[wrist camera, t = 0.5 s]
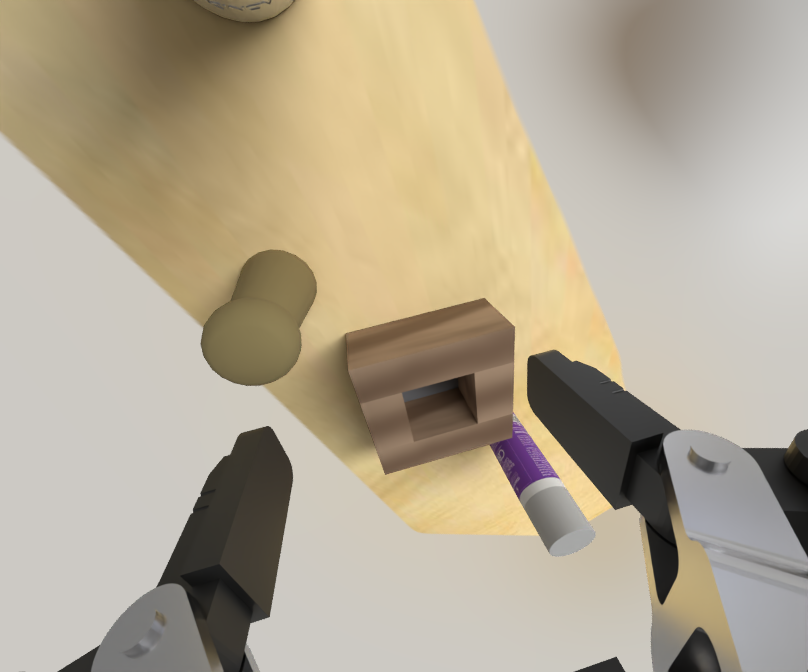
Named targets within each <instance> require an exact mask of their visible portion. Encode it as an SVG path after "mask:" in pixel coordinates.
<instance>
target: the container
mask: <svg viewBox="0 0 808 672" xmlns="http://www.w3.org/2000/svg"><path fill="white" fill-rule="evenodd" d="M490 446H491V448H492V450H493V452H494V454H495V456H496V458H497V459H498V461H499V463H500V465H501V467H502V469H503V471H504V473H505V474H506V476H507V478H508V480H509V482H510V484H511V486H512V487H513V489H514V491H515V493H516V495H517V497H518V499H519V501H520V502H521V504H522V506H523V508H524V509H525V511H526V513H527V515H528V516H529V518H530V520H531V522H532V523H533V525H534V527H535V529H536V530H537V532H538V534H539V536H540V537H541V539H542V541H543V543H544V545H545V546H546V548H547V550H548V552H549V553H550V554H551V555H552V556H565V555H569V554H572V553H574V552H577V551H579V550H581V549H582V548H584V547H585V546H587V545H588V544H589V543H590V542H591V541H592V540H593V539H594V537H595V531H594V530H593V528H592V526H591V525H590V523H589V522H588V520H587V519H586V517H585V516H584V514H583V513H582V511H581V510H580V508H579V507H578V505H577V504H576V502H575V501H574V499H573V498H572V496H571V495H570V493H569V492H568V490H567V489H566V487H565V486H564V484H563V483H562V481H561V480H560V478H559V477H558V475H557V474H556V473H555V471H554V470H553V468H552V467H551V465H550V464H549V463H548V461H547V460H546V458H545V457H544V455H543V454H542V453H541V451H540V450H539V448H538V447H537V445H536V444H535V443H534V441H533V440H532V438H531V437H530V435H529V434H528V433H527V431H526V430H525V428H524V427H523V425H522V424H521V423H520V421H519V420H518V418H517V417H516V415H515V414H514V413H513V433H512V438H510V439H506V440H503V441H499V442H496V443H492V444H490Z"/></svg>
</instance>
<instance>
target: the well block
mask: <svg viewBox="0 0 808 672" xmlns="http://www.w3.org/2000/svg"><path fill="white" fill-rule="evenodd" d="M514 341H515V326H513V325H512V324H511V323H510V322H509V321H508V320H507V319H506V318H505V317H504V316H503V315H502V314H501V313H500V312H499V311H498V310H496V309H495V308H494V307H493V306H492V305H491V304H490V303H489V302H488V301H487V300H486V299H485V298H483V299H479V300H475V301H471V302H467V303H463V304H460V305H456V306H452V307H448V308H444V309H440V310H436V311H432V312H428V313H424V314H420V315H416V316H412V317H409V318H405V319H401V320H397V321H393V322H389V323H385V324H381V325H377V326H373V327H369V328H365V329H361V330H358V331H354V332H350V333H346V343H347V361H348V372H349V375H350V378H351V380H352V383H353V386H354V389H355V392H356V394H357V397H358V400H359V403H360V406H361V408H362V411H363V414H364V417H365V420H366V422H367V425H368V428H369V431H370V433H371V436H372V439H373V442H374V445H375V447H376V450H377V453H378V456H379V459H380V461H381V464H382V467H383V470H384V473H385V475H386V474H389V473H393V472H396V471H400V470H403V469H407V468H410V467H413V466H417V465H420V464H424V463H427V462H431V461H434V460H438V459H441V458H444V457H448V456H451V455H455V454H458V453H462V452H465V451H468V450H472V449H475V448H479V447H482V446H486V445H489V444H492V443H496V442H499V441H503V440H506V439H510V438H512V433H513V387H514Z"/></svg>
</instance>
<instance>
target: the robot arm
mask: <svg viewBox="0 0 808 672" xmlns="http://www.w3.org/2000/svg"><path fill="white" fill-rule="evenodd" d="M194 1H195V2H196V3H198V4H199V5H200V6H202V7H203V8H205V9H207V10H209V11H211V12H213V13H215V14H217V15H219V16H221V17H223V18H227V19H231V20H235V21H239V22H260V21H263V20H266V19H269V18H272V17H275V16H277V15H278V14H279V13H281V12H282V11H283V10H285V9H286V8H288V7H289V6H290V5H291V3H292V2H293V1H294V0H194ZM527 397H528V401H529V404H530V407H531V409H532V410H533V412H534V414H535V415H536V416H537V417H538V418H539V420H540V421H541V422H542V423H543V424H544V426H545V427H546V428H547V429H548V430H549V432H550V433H551V434H552V435H553V436H554V437H555V439H556V440H557V441H558V442H559V443H560V445H561V446H562V447H563V448H564V449H565V451H566V452H567V453H568V454H569V455H570V457H571V458H572V459H573V460H574V461H575V462H576V464H577V465H578V466H579V467H580V468H581V470H582V471H583V472H584V473H585V474H586V476H587V477H588V478H589V479H590V480H591V482H592V483H593V484H594V485H595V486H596V488H597V489H598V490H599V491H600V492H601V493H602V495H603V496H604V497H605V498H606V499H607V501H608V502H609V503H610V504H611V505H612V507H613V508H614V509H615V510H617V509H620V508H623V507H626V506H629V505H633V506H634V507H635V508H636V509H637V510H638V511H639V512H640V513H641V514H640V519H639V521H640V529H641V536H642V543H643V550H644V557H645V564H646V571H647V577H648V584H649V591H650V598H651V605H652V628H651V654H652V664H653V672H808V429H807V430H804V431H801V432H799V433H798V434H797V435H796V436H795V438H794V440H793V441H792V443H791V445H790V446H789V448H740V447H739V446H738V445H736V444H734V443H732V442H730V441H729V440H726V439H724V438H722V437H719V436H717V435H714V434H710V433H707V432H702V431H697V430H680V429H679V428H677V427H676V426H675V425H673V424H672V423H670V422H669V421H668V420H666V419H665V418H664V417H662V416H661V415H659V414H658V413H657V412H655V411H654V410H652V409H651V408H650V407H648V406H647V405H645V404H644V403H643V402H641V401H640V400H639V399H637V398H636V397H634V396H633V395H632V394H630V393H629V392H628V391H624V390H623V388H622V387H621V386H619V385H618V384H617V383H615V382H614V381H613V382H611V380H610V378H608V377H607V376H605V375H604V374H603V373H601V372H600V371H599V370H597V369H596V368H594V367H591V366H588V365H586V364H583V363H581V362H578V361H574V362H571V361H570V360H569V359H568V358H566V357H565V356H564V355H562V354H561V353H560V352H558V351H557V350H550V351H547V352H543V353H539V354H536V355H532V356H530V357H529V358H528V363H527ZM292 482H293V472H292V466H291V463H290V460H289V458H288V456H287V455H286V453H285V451H284V449H283V447H282V445H281V444H280V442H279V440H278V438H277V436H276V435H275V433H274V431H273V429H271V427H269V426H266V427H263V428H259V429H255V430H251V431H247V432H244V433H241V434H240V435H239V436H238V438H237V440H236V442H235V445H234V447H233V450H232V452H231V454H230V455H228V456H225V457H223V459H222V460H221V461H220V462H219V463H218V464H217V466H216V467H215V468H214V469H213V470H212V472H211V473H210V474H209V476H208V478H207V480H206V483H205V485H204V487H203V489H202V491H201V497H198V500H197V502H196V504H195V506H194V508H193V513H192V514H191V515H190V517H189V519H188V521H187V523H186V525H185V528H184V530H183V532H182V534H181V536H180V538H179V541H178V543H177V545H176V547H175V549H174V551H173V553H172V556H171V558H170V560H169V562H168V564H167V567H166V569H165V571H164V573H163V575H162V577H161V579H160V582H159V583H158V585H157V587H156V588H155V589H153V590H151V591H149V592H148V593H146V594H144V595H143V596H142V597H140V598H139V599H138V600H136V602H135V603H133V604H132V605H131V606H130V607H129V608H128V609H127V610H126V611H125V612H124V613H123V614H122V615H121V616H120V617H119V619H118V620H117V621H116V622H115V623H114V625H113V626H112V627H111V629H110V630H109V632H108V633H107V635H106V636H105V638H104V639H103V641H102V643H101V645H99V646H98V647H96V648H95V649H93V650H91V651H90V652H88V653H87V654H85V655H83V656H82V657H80V658H79V659H77V660H75V661H74V662H72V663H71V664H69V665H67V666H66V667H64V668H63V669H61V670H59V671H58V672H260V671H259V668H258V666H257V664H256V662H255V659H254V657H253V655H252V653H251V650H250V648H249V647H248V645H247V644H246V641H247V636H248V631H249V627H250V623H252V622H256V621H259V620H262V619H265V618H268V617H270V611H271V605H272V600H273V594H274V588H275V582H276V576H277V570H278V564H279V558H280V553H281V547H282V541H283V535H284V529H285V523H286V518H287V512H288V506H289V500H290V494H291V488H292ZM575 672H625V671H624V669H623V667H622V665H621V664H620V662H619V660H618V659H617V657H614V658H612V659H609V660H606V661H603V662H600V663H597V664H595V665H592V666H589V667H586V668H583V669H580V670H578V671H575Z"/></svg>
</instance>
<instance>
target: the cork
mask: <svg viewBox="0 0 808 672" xmlns="http://www.w3.org/2000/svg"><path fill="white" fill-rule="evenodd" d="M316 293H317V286H316V280H315V277H314V274H313V272H312V270H311V269H310V268H309V267H308V265H307V264H306V263H305V262H304V261H303V260H301V259H300V258H299V257H297V256H296V255H293V254H291V253H288V252H285V251H281V250H267V251H263V252H259V253H257V254H256V255H254V256H253V257H251V258H249V259H248V261H247V262H246V264H245V265H244V266H243V268H242V271H241V274H240V277H239V279H238V282H237V285H236V288H235V291H234V294H233V296H232V299H231V302H228V303H226V304H225V305H223V306H222V307H220V308H218V309H217V310H215V312H214V313H213V314H212V315H211V317H210V318H209V319H208V321H207V322H206V324H205V325H204V328H203V333H202V339H201V347H202V352H203V356H204V358H205V359H206V361H207V362H208V364H209V365H210V367H211V368H212V370H214V371H215V372H216V373H217V374H218V375H220V376H221V377H222V378H225V379H227V380H229V381H231V382H233V383H237V384H241V385H246V386H257V385H263V384H267V383H271V382H274V381H276V380H278V379H279V378H281V377H283V376H284V375H286V374H287V373H288V372H289V371H290V370H291V368H292V367H293V366H294V365H295V363H296V362H297V360H298V357H299V354H300V351H301V333H300V330H299V328H300V326H301V324H302V322H303V320H304V318H305V317H306V315H307V313H308V311H309V309H310V307H311V305H312V304H313V302H314V299H315V296H316Z"/></svg>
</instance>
